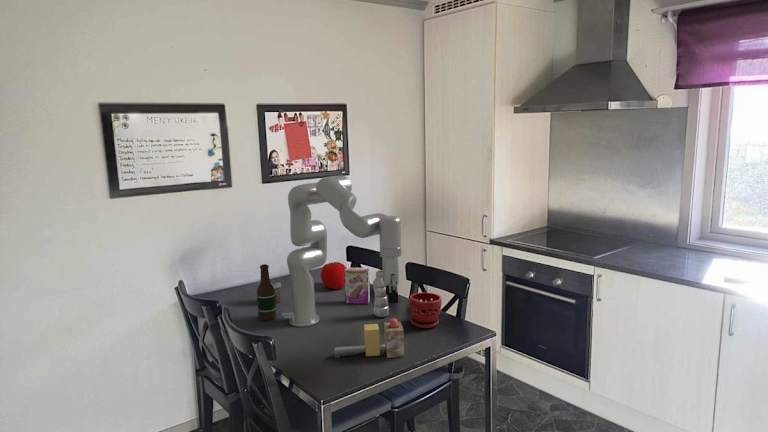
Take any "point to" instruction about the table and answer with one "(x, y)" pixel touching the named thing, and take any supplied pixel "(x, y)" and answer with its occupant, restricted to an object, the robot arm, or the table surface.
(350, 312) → the table surface
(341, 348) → the rail
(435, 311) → the plant pot
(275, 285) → the food container
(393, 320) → the button
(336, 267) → the tomato
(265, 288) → the beer bottle
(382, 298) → the plastic bottle
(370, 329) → the yellow block
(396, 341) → the beige mottled box
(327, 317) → the table surface
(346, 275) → the candy bar box
